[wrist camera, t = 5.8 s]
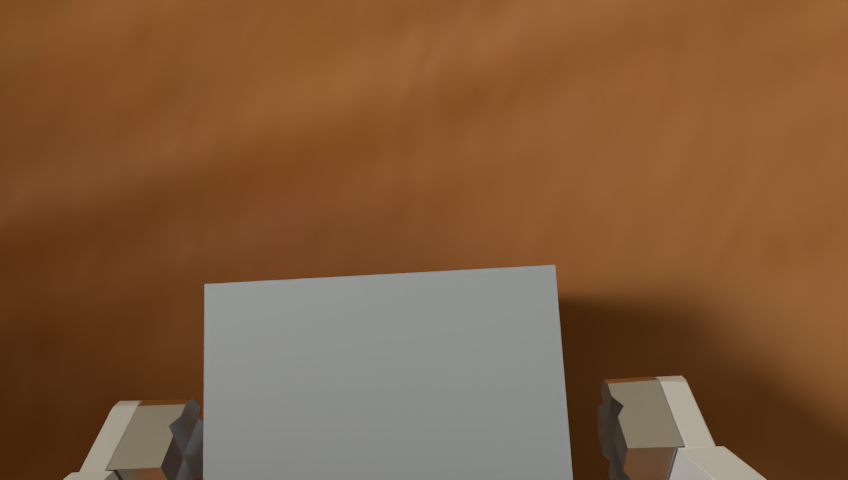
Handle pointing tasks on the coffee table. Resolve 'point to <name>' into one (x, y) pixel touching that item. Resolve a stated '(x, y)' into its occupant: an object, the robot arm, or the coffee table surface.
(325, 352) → the slate cover
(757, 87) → the coffee table surface
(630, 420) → the robot arm
